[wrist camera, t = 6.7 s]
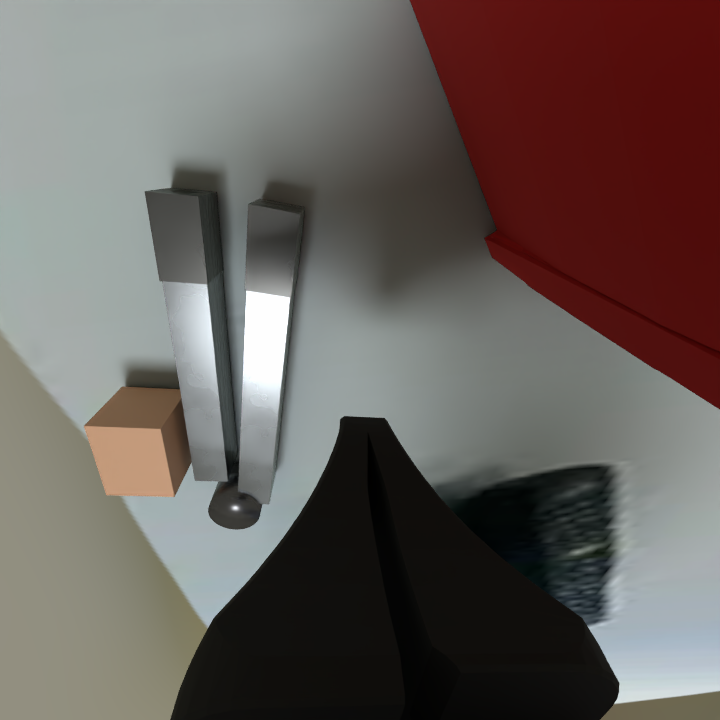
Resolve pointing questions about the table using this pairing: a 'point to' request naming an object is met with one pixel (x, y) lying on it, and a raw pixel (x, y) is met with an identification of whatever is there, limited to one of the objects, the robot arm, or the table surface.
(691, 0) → the red curved-top box
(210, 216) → the tongs handle
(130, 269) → the table surface
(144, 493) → the block
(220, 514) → the tongs arm
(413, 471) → the robot arm
